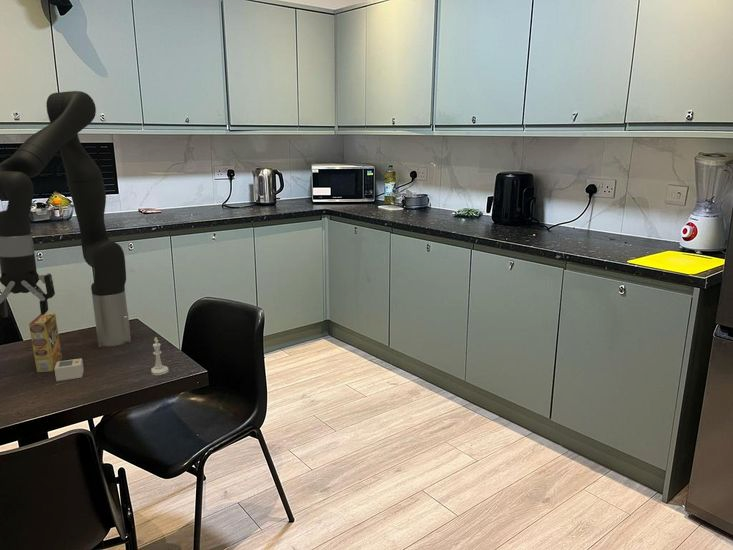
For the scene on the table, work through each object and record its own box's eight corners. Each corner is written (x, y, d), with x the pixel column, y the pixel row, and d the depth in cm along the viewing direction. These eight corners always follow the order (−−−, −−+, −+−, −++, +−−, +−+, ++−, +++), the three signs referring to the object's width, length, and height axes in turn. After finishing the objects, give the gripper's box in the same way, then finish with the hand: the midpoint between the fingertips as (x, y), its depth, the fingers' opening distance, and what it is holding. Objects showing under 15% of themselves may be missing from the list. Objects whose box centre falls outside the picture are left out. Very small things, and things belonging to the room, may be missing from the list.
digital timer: (83, 370, 148) (81, 357, 147) (82, 377, 144) (80, 364, 143) (58, 373, 146) (56, 360, 145) (56, 381, 142) (54, 367, 141)
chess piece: (163, 366, 154) (160, 333, 152) (171, 371, 151) (168, 337, 148) (146, 371, 151) (143, 337, 148) (154, 377, 147) (150, 342, 145)
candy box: (53, 375, 148) (45, 322, 145) (36, 377, 147) (28, 323, 144) (63, 363, 157) (56, 312, 153) (47, 364, 156) (39, 313, 152)
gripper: (52, 249, 141) (59, 309, 145) (-12, 251, 137) (-3, 313, 140) (45, 254, 134) (52, 317, 138) (-22, 256, 130) (-13, 322, 133)
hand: (24, 315), depth 139 cm, fingers open, 8 cm apart
